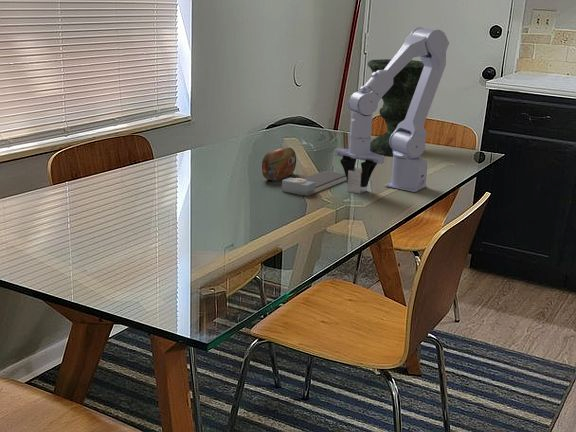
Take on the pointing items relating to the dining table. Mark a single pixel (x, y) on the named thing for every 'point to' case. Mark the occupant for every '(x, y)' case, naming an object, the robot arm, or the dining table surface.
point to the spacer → (355, 181)
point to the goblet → (395, 100)
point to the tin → (279, 164)
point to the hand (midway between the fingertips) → (357, 184)
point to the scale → (312, 183)
